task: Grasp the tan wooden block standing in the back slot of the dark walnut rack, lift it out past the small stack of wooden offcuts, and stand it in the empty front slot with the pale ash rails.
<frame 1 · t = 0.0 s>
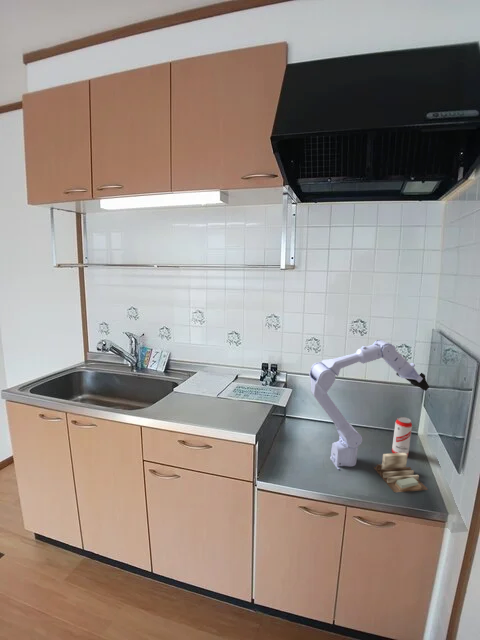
hand: (420, 384, 131), 32 cm above the worktop, tool tilted 50°, fingers open, 7 cm apart
offcut top: (407, 484, 118), point 2 cm above the worktop, touching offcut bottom
beer can: (399, 455, 139), on the worktop
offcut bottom: (407, 487, 118), point 1 cm above the worktop, touching offcut top, rack
tan wooden block: (393, 470, 127), point 1 cm above the worktop, touching rack
rack: (399, 480, 123), on the worktop
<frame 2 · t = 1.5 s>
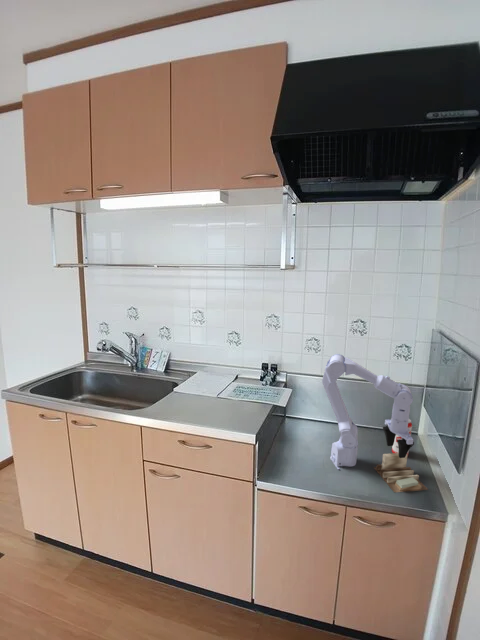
hand: (395, 451, 126), 9 cm above the worktop, tool pointing down, fingers open, 7 cm apart
nothing on the worktop moved.
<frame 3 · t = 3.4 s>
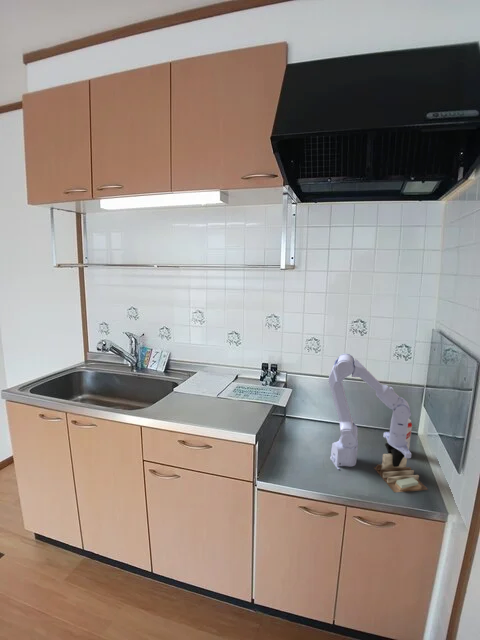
hand: (394, 464, 127), 4 cm above the worktop, tool pointing down, fingers closed on tan wooden block, 2 cm apart
tan wooden block: (393, 470, 127), point 1 cm above the worktop, touching gripper, rack
everything else where it was.
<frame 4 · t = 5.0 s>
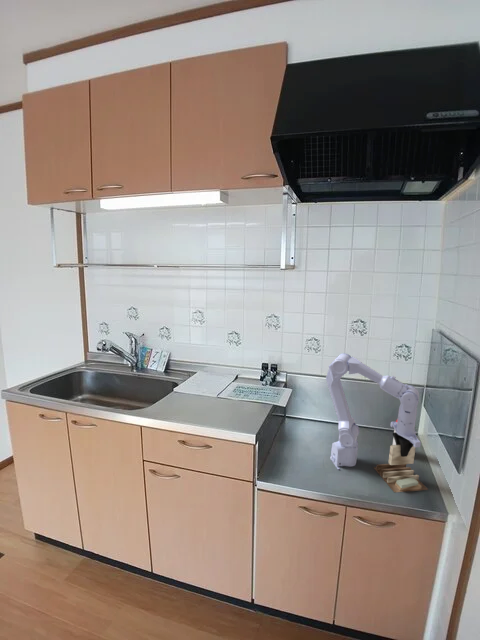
hand: (402, 454, 122), 10 cm above the worktop, tool pointing down, fingers closed on tan wooden block
tan wooden block: (400, 463, 123), point 7 cm above the worktop, touching gripper
everything else where it was.
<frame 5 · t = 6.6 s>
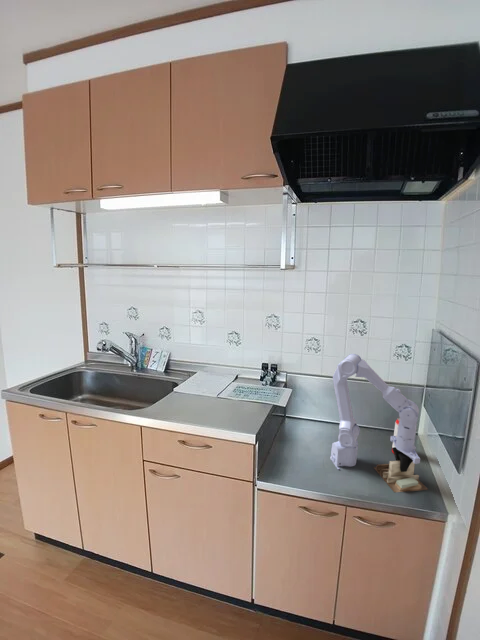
hand: (401, 469, 122), 5 cm above the worktop, tool pointing down, fingers closed on tan wooden block, 2 cm apart
tan wooden block: (400, 478, 123), point 1 cm above the worktop, touching gripper, rack
everything else where it was.
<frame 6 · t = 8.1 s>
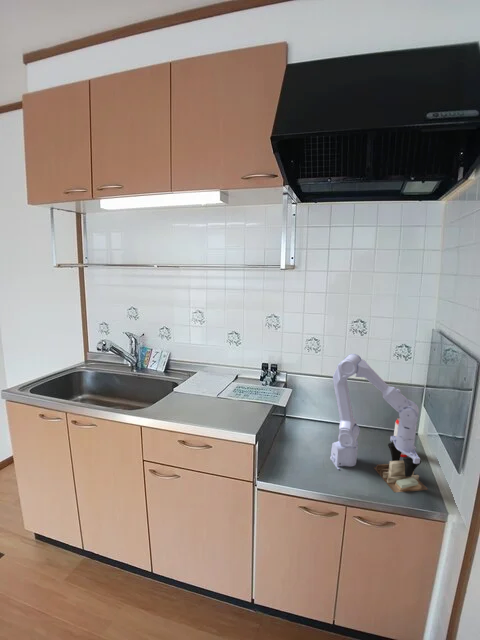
hand: (401, 469, 122), 5 cm above the worktop, tool pointing down, fingers open, 7 cm apart
tan wooden block: (400, 478, 123), point 1 cm above the worktop, touching rack
everything else where it was.
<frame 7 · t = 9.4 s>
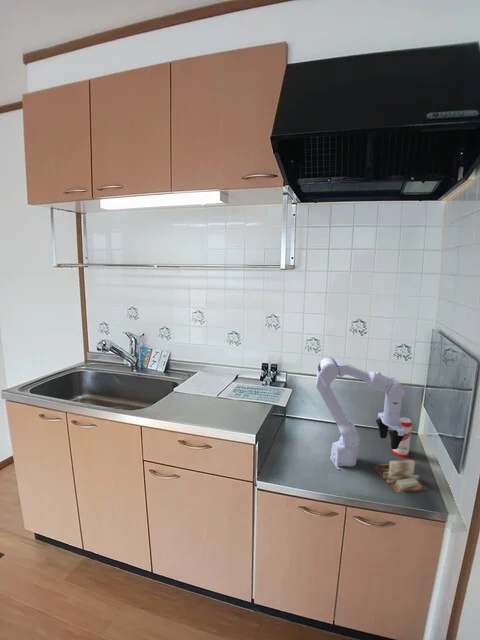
hand: (388, 443, 129), 10 cm above the worktop, tool pointing down, fingers open, 7 cm apart
nothing on the worktop moved.
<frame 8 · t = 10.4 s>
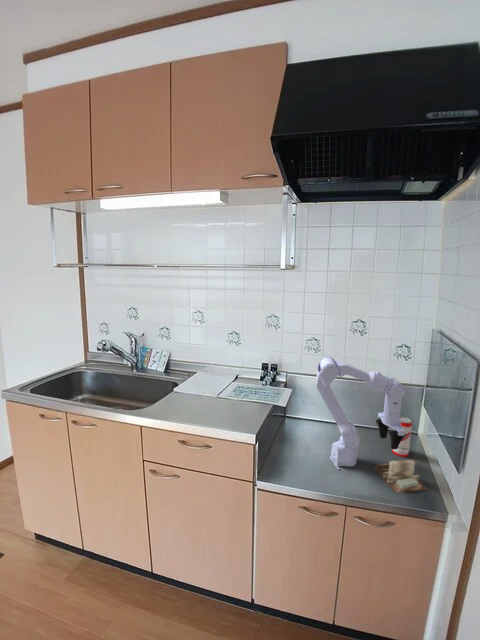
hand: (388, 443, 129), 10 cm above the worktop, tool pointing down, fingers open, 7 cm apart
nothing on the worktop moved.
at the end: tan wooden block 0.1 cm from the target spot, point 1.0 cm above the worktop; tan wooden block tilted 0°; offcut top moved 0.0 cm from its start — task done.
